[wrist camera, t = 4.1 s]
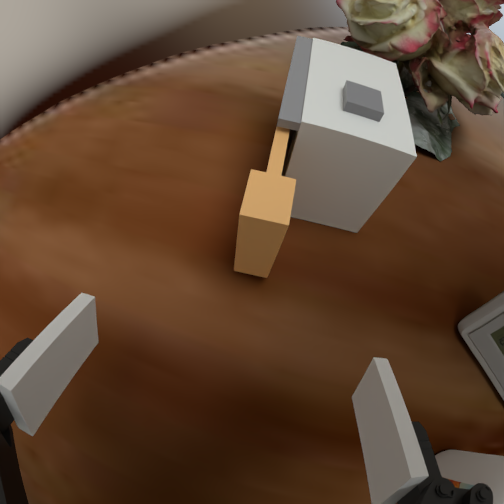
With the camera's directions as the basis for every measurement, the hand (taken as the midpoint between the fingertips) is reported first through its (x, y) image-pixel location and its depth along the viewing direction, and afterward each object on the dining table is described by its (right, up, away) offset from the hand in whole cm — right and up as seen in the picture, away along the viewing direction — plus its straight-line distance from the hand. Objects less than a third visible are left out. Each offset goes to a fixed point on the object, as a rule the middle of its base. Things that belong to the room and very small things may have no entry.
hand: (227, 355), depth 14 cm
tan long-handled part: (+3, +10, +18) cm, 21 cm away
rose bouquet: (+27, +30, +30) cm, 50 cm away
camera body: (+9, +14, +22) cm, 27 cm away
